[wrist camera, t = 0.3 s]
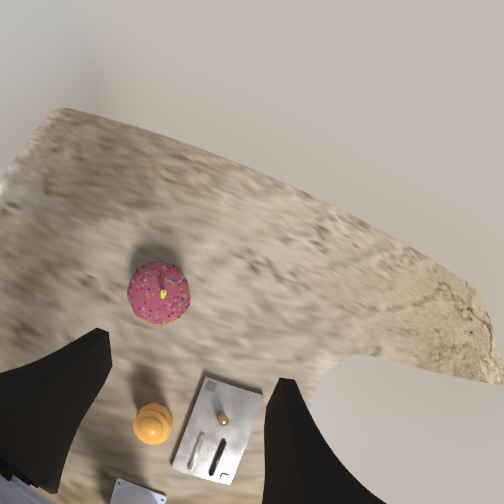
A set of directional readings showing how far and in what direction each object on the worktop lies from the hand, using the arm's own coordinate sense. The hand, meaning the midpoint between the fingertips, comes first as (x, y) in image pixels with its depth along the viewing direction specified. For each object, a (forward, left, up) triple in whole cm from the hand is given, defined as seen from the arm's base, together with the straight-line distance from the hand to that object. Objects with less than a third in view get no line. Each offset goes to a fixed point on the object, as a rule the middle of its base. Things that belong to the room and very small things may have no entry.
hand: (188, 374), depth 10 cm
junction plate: (-10, -8, -29) cm, 32 cm away
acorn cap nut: (-11, +1, -29) cm, 31 cm away
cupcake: (+6, +7, -30) cm, 31 cm away
